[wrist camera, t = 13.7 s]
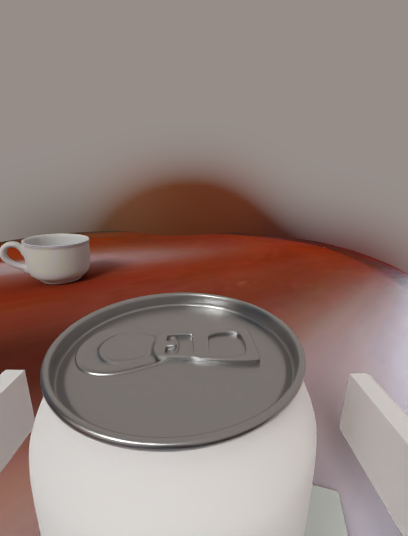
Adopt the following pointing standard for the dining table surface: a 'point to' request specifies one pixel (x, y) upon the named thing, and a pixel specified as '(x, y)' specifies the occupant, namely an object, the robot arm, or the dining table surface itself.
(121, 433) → the can
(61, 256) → the teacup
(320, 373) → the dining table surface
